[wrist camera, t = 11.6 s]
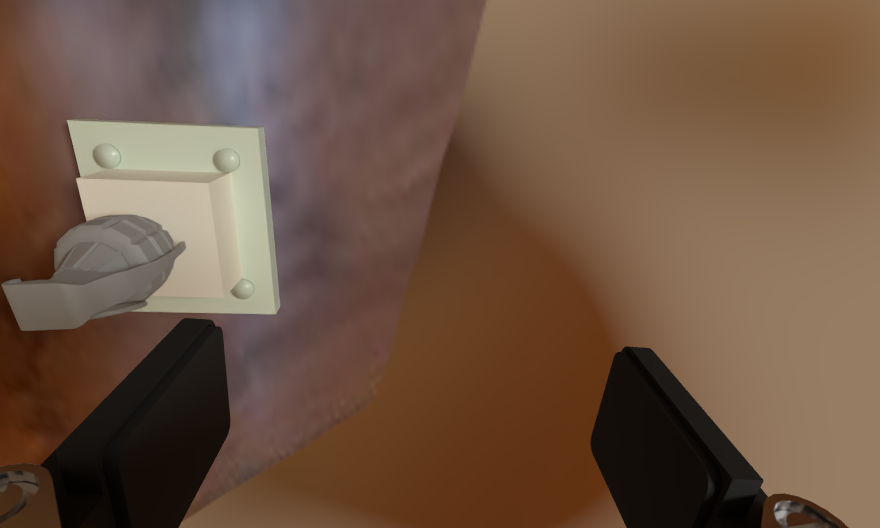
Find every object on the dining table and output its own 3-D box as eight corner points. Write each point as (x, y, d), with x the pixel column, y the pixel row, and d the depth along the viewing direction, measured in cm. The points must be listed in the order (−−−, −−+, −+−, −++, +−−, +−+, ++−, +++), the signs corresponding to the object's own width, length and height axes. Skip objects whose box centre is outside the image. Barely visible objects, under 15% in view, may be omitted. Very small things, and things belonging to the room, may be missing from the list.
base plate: (80, 118, 36) (63, 120, 34) (263, 126, 36) (256, 128, 35) (123, 303, 41) (110, 313, 40) (280, 306, 42) (274, 316, 41)
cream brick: (111, 168, 36) (75, 178, 32) (229, 172, 36) (208, 183, 32) (134, 274, 39) (104, 295, 35) (242, 277, 39) (224, 297, 36)
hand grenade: (124, 278, 35) (1, 359, 25) (100, 203, 33) (-45, 257, 22) (210, 274, 35) (124, 352, 25) (192, 199, 33) (90, 251, 23)
